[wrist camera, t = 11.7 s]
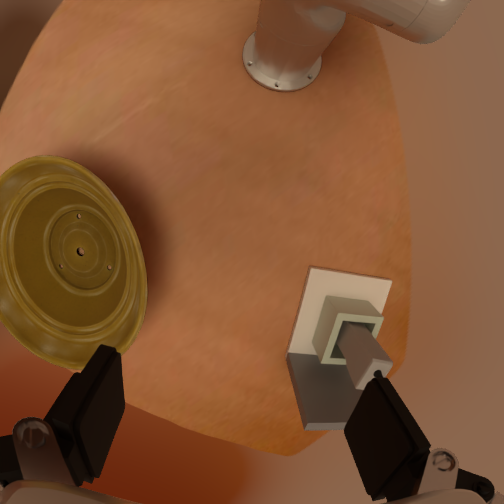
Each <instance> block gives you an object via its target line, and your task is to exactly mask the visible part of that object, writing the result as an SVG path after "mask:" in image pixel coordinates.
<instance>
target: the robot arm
mask: <svg viewBox="0 0 504 504" xmlns="http://www.w3.org/2000/svg"><path fill="white" fill-rule="evenodd" d="M470 1H471V0H261V2H260V8H259V15H258V21H257V27H256V31H255V32H254V33H252V34H251V35H250V36H249V38H248V39H247V41H246V42H245V45H244V48H243V63H244V66H245V69H246V71H247V72H248V74H249V75H250V76H251V78H252V79H254V80H255V81H256V82H257V83H258V84H260V85H262V86H263V87H266V88H268V89H270V90H274V91H280V92H291V91H296V90H300V89H302V88H304V87H306V86H308V85H309V84H310V83H312V82H313V80H314V79H315V78H316V77H317V75H318V74H319V71H320V69H321V64H322V58H321V54H322V53H323V52H324V50H325V49H326V48H327V47H328V45H329V44H330V43H331V41H332V40H333V39H334V38H335V36H336V35H337V34H338V32H339V31H340V30H341V28H342V27H343V24H344V22H345V18H346V13H348V14H352V15H354V16H357V17H359V18H361V19H364V20H366V21H368V22H371V23H373V24H375V25H377V26H380V27H381V28H384V29H386V30H388V31H390V32H392V33H394V34H396V35H398V36H400V37H402V38H405V39H407V40H409V41H412V42H415V43H419V44H428V43H432V42H435V41H437V40H439V39H440V38H442V36H444V35H445V34H446V33H447V32H448V31H449V30H450V29H451V28H452V26H453V25H454V24H455V23H456V21H457V20H458V18H459V17H460V15H461V14H462V13H463V11H464V10H465V8H466V7H467V5H468V4H469V2H470ZM248 65H251V66H248ZM307 77H309V78H310V79H308V78H307ZM275 85H277V86H278V87H275ZM124 409H125V399H124V389H123V377H122V363H121V353H119V352H117V350H116V348H115V347H111V346H107V345H103V344H100V345H99V347H98V348H97V350H96V351H95V353H94V354H93V355H92V357H91V358H90V360H89V361H88V363H87V364H86V366H85V367H84V369H83V370H82V372H81V373H78V372H76V373H74V374H73V376H72V377H71V378H70V380H69V381H68V383H67V384H66V386H65V387H64V389H63V390H62V392H61V393H60V395H59V396H58V398H57V399H56V401H55V402H54V404H53V405H52V407H51V409H50V410H49V412H48V413H47V415H46V416H45V418H44V419H43V420H42V419H40V418H36V417H27V418H23V419H21V420H20V421H18V422H17V423H16V424H15V425H14V428H13V431H12V432H13V433H12V435H7V436H2V437H0V504H141V503H136V502H132V501H128V500H124V499H120V498H116V497H113V496H109V495H106V494H102V493H98V492H95V491H91V490H88V489H84V488H81V487H79V486H81V485H82V483H83V481H86V482H89V483H92V482H93V480H94V477H96V478H99V477H100V474H101V471H102V469H103V466H104V463H105V460H106V457H107V455H108V452H109V449H110V447H111V444H112V441H113V439H114V436H115V433H116V431H117V428H118V426H119V423H120V421H121V418H122V415H123V413H124ZM344 434H345V437H346V439H347V442H348V445H349V447H350V450H351V452H352V455H353V458H354V460H355V463H356V466H357V468H358V471H359V474H360V476H361V479H362V481H363V484H364V487H365V490H366V492H367V494H368V495H371V498H372V501H376V500H380V499H384V498H385V497H386V499H387V503H383V504H504V496H503V495H502V494H500V493H499V492H496V493H495V494H494V486H493V484H492V483H491V481H489V480H488V479H486V478H485V477H482V476H479V475H476V474H473V473H470V472H467V471H465V470H462V469H459V468H458V467H459V462H458V459H457V457H456V456H455V455H454V454H453V453H452V452H451V451H449V450H447V449H443V448H437V449H434V450H432V451H431V452H430V450H429V448H430V446H431V445H430V443H429V441H428V440H427V438H426V437H425V435H424V434H423V432H422V430H421V429H420V427H419V426H418V424H417V422H416V421H415V419H414V418H413V416H412V415H411V413H410V412H409V410H408V408H407V407H406V405H405V404H404V402H403V401H402V399H401V398H400V396H399V395H398V393H397V392H396V390H395V389H394V387H393V386H392V384H391V383H390V381H389V380H388V379H387V378H385V377H384V378H372V379H371V381H369V382H368V383H367V384H366V386H365V388H364V390H363V392H362V394H361V396H360V398H359V400H358V402H357V404H356V406H355V408H354V410H353V412H352V414H351V416H350V418H349V420H348V421H347V423H346V425H345V428H344Z"/></svg>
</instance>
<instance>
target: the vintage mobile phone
mask: <svg viewBox="0 0 504 504" xmlns="http://www.w3.org/2000/svg"><path fill="white" fill-rule="evenodd" d="M336 343H337V344H338V346H339V348H340V350H341V352H342V353H343V355H344V357H345V359H346V367H347V369H348V371H349V374H350V376H351V379H352V381H353V384H354V386H355V388H356V389H361V390H364V388H365V386H366V384H367V383H368V382H369V381H371V379H372V378H384V377H386V375H387V374H388V372H389V370H390V369H391V367H392V366H393V361H392V360H391V359H390V358H389V356H388V355H387V354H386V352H385V351H384V350H383V348H382V347H381V346H380V344H379V343H378V342H377V341H376V339H375V338H374V337H373V335H372V334H371V333H370V332H369V330H368V329H367V328H366V327H365V325H364V324H363V323H362V322H353V321H343V322H342V325H341V327H340V330H339V333H338V336H337V339H336Z"/></svg>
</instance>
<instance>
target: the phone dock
mask: <svg viewBox="0 0 504 504" xmlns="http://www.w3.org/2000/svg"><path fill="white" fill-rule="evenodd" d="M391 284H392V280H390V279H387V278H381V277H375V276H369V275H363V274H357V273H350V272H344V271H338V270H332V269H326V268H320V267H314V266H309V269H308V273H307V277H306V281H305V285H304V289H303V293H302V297H301V300H300V304H299V308H298V312H297V315H296V319H295V323H294V326H293V330H292V333H291V337H290V340H289V344H288V347H287V351H286V354H285V358H286V361H287V365H288V369H289V373H290V377H291V381H292V384H293V388H294V392H295V396H296V400H297V404H298V408H299V412H300V415H301V419H302V423H303V427H304V430H340V429H341V430H342V429H344V428H345V425H346V423H347V421H348V420H349V418H350V416H351V414H352V412H353V410H354V408H355V406H356V404H357V402H358V400H359V398H360V396H361V394H362V392H363V390H361V389H356V388H355V386H354V384H353V381H352V379H351V376H350V374H349V371H348V369H347V367H346V359H345V357H344V355H343V353H342V352H341V350H340V348H339V346H338V344H337V343H336V339H337V336H338V333H339V330H340V327H341V325H342V322H343V321H353V322H362V323H363V324H364V325H365V327H366V328H367V329H368V330H369V332H370V333H371V334H372V335H373V337H374V338H375V339H376V337H377V335H378V332H379V330H380V327H381V324H382V322H383V319H384V317H383V316H382V315H381V313H382V310H383V308H384V305H385V302H386V299H387V296H388V293H389V290H390V287H391Z"/></svg>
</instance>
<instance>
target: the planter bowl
mask: <svg viewBox="0 0 504 504" xmlns="http://www.w3.org/2000/svg"><path fill="white" fill-rule="evenodd" d="M77 214H80V215H81V218H80V219H78V218H77ZM79 247H81V248H83V250H84V255H83V256H79V255H78V254H77V249H78V248H79ZM60 264H62V265H63V268H60V266H59V265H60ZM108 265H110V266H111V267H112V269H111V270H108V269H107V266H108ZM147 295H148V290H147V273H146V267H145V261H144V256H143V252H142V249H141V245H140V242H139V239H138V236H137V234H136V231H135V229H134V227H133V225H132V223H131V221H130V218H129V216H128V215H127V213H126V211H125V209H124V207H123V206H122V204H121V203H120V201H119V200H118V198H117V197H116V196H115V195H114V193H113V192H112V191H111V190H110V189H109V188H108V186H107V185H106V184H105V183H104V182H103V181H102V180H101V179H100V178H98V177H97V176H96V175H95V174H94V173H92V172H91V171H90V170H88V169H87V168H85V167H84V166H82V165H80V164H78V163H77V162H74V161H72V160H69V159H66V158H62V157H58V156H51V155H41V156H34V157H30V158H27V159H25V160H22V161H20V162H18V163H16V164H15V165H13V166H12V167H10V168H9V169H8V170H6V171H5V172H4V173H3V174H2V175H1V176H0V320H1V322H2V323H3V325H4V326H5V327H6V329H7V330H8V331H9V332H10V333H11V334H12V336H14V338H15V339H16V340H17V341H19V343H21V344H22V345H23V346H24V347H25V348H26V349H28V350H29V351H30V352H32V353H33V354H35V355H36V356H38V357H39V358H41V359H43V360H45V361H47V362H49V363H51V364H54V365H57V366H60V367H64V368H68V369H75V370H83V369H84V367H85V366H86V364H87V363H88V361H89V360H90V358H91V357H92V355H93V354H94V353H95V351H96V350H97V348H98V347H99V345H100V344H103V345H107V346H111V347H115V348H116V350H117V352H119V353H121V356H122V355H123V354H124V353H125V352H126V351H127V350H128V349H129V348H130V346H131V345H132V344H133V342H134V341H135V339H136V337H137V335H138V333H139V331H140V329H141V326H142V323H143V320H144V317H145V312H146V306H147Z"/></svg>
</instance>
